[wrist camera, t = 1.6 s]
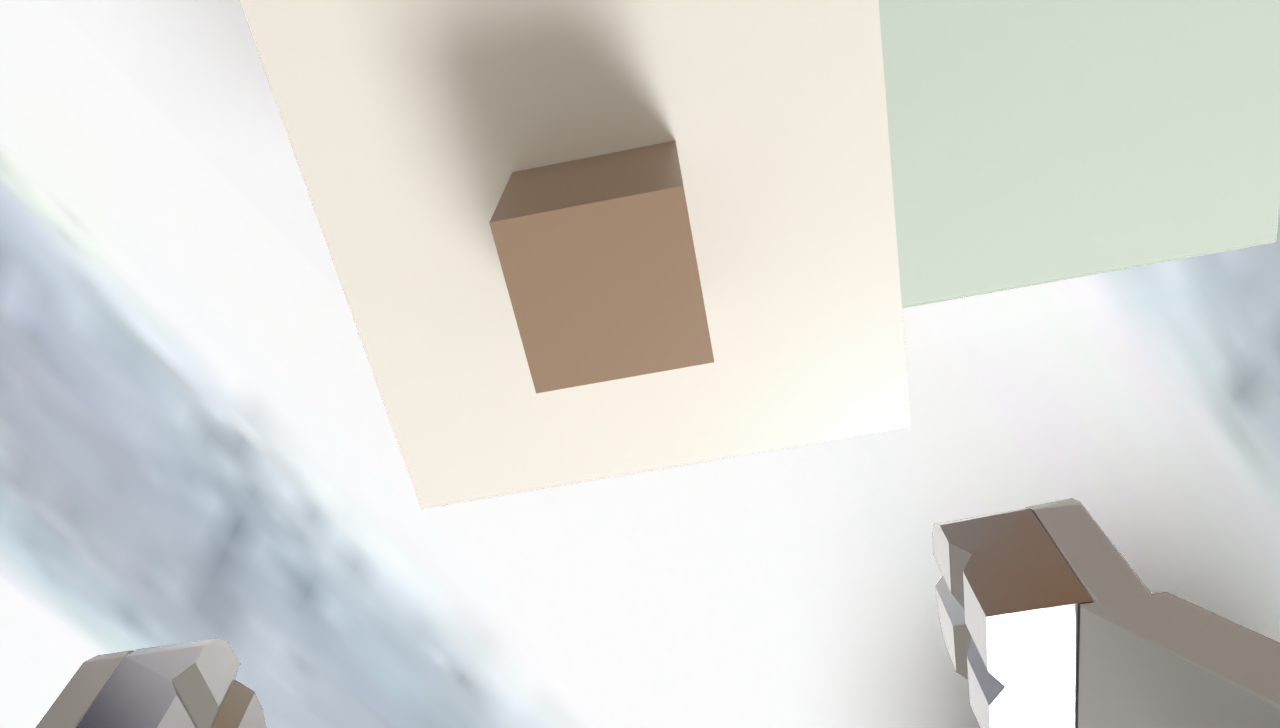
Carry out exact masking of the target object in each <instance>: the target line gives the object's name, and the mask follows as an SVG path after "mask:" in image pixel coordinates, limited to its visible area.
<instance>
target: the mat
mask: <svg viewBox="0 0 1280 728" xmlns="http://www.w3.org/2000/svg"><path fill="white" fill-rule="evenodd" d="M879 13H880V26H881V40H882V53H883V66H884V79H885V92H886V105H887V118H888V131H889V144H890V157H891V170H892V183H893V197H894V210H895V223H896V236H897V249H898V262H899V275H900V288H901V301H902V308H907V307H912V306H918V305H924V304H929V303H935V302H941V301H946V300H952V299H958V298H963V297H969V296H975V295H980V294H986V293H992V292H997V291H1003V290H1009V289H1014V288H1020V287H1026V286H1031V285H1037V284H1043V283H1048V282H1054V281H1060V280H1065V279H1071V278H1077V277H1082V276H1088V275H1094V274H1099V273H1105V272H1111V271H1116V270H1122V269H1128V268H1133V267H1139V266H1145V265H1150V264H1156V263H1162V262H1167V261H1173V260H1179V259H1184V258H1190V257H1196V256H1201V255H1207V254H1212V253H1218V252H1224V251H1229V250H1235V249H1241V248H1246V247H1252V246H1258V245H1263V244H1269V243H1275V242H1276V238H1277V229H1278V220H1279V211H1280V0H879Z"/></svg>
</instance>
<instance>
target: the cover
mask: <svg viewBox="0 0 1280 728" xmlns="http://www.w3.org/2000/svg"><path fill="white" fill-rule="evenodd" d="M240 3H241V6H242V9H243V11H244V14H245V17H246V20H247V23H248V25H249V28H250V31H251V34H252V37H253V39H254V42H255V45H256V48H257V50H258V53H259V56H260V59H261V62H262V64H263V67H264V70H265V73H266V76H267V78H268V81H269V84H270V87H271V90H272V92H273V95H274V98H275V101H276V104H277V106H278V109H279V112H280V115H281V118H282V120H283V123H284V126H285V129H286V132H287V134H288V137H289V140H290V143H291V146H292V148H293V151H294V154H295V157H296V160H297V162H298V165H299V168H300V171H301V173H302V176H303V179H304V182H305V185H306V187H307V190H308V193H309V196H310V199H311V201H312V204H313V207H314V210H315V213H316V215H317V218H318V221H319V224H320V227H321V229H322V232H323V235H324V238H325V241H326V243H327V246H328V249H329V252H330V255H331V257H332V260H333V263H334V266H335V269H336V271H337V274H338V277H339V280H340V283H341V285H342V288H343V291H344V294H345V297H346V299H347V302H348V305H349V308H350V310H351V313H352V316H353V319H354V322H355V324H356V327H357V330H358V333H359V336H360V338H361V341H362V344H363V347H364V350H365V352H366V355H367V358H368V361H369V364H370V366H371V369H372V372H373V375H374V378H375V380H376V383H377V386H378V389H379V392H380V394H381V397H382V400H383V403H384V406H385V408H386V411H387V414H388V417H389V420H390V422H391V425H392V428H393V431H394V433H395V436H396V439H397V442H398V445H399V447H400V450H401V453H402V456H403V459H404V461H405V464H406V467H407V470H408V473H409V475H410V478H411V481H412V484H413V487H414V489H415V492H416V495H417V498H418V501H419V503H420V506H421V509H424V508H430V507H436V506H442V505H448V504H454V503H460V502H466V501H472V500H478V499H484V498H490V497H496V496H502V495H508V494H514V493H520V492H526V491H532V490H538V489H544V488H550V487H556V486H562V485H568V484H574V483H580V482H586V481H592V480H598V479H604V478H610V477H616V476H622V475H628V474H634V473H640V472H646V471H652V470H658V469H664V468H670V467H676V466H682V465H688V464H694V463H700V462H706V461H712V460H718V459H724V458H730V457H736V456H742V455H748V454H754V453H760V452H766V451H772V450H778V449H784V448H790V447H796V446H802V445H808V444H814V443H820V442H826V441H832V440H838V439H844V438H850V437H856V436H862V435H868V434H874V433H880V432H886V431H892V430H898V429H904V428H910V427H911V419H910V406H909V393H908V380H907V367H906V354H905V341H904V327H903V314H902V301H901V288H900V275H899V262H898V249H897V236H896V223H895V210H894V197H893V183H892V170H891V157H890V144H889V131H888V118H887V105H886V92H885V79H884V66H883V53H882V40H881V26H880V13H879V0H240Z"/></svg>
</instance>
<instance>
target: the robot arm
mask: <svg viewBox="0 0 1280 728" xmlns="http://www.w3.org/2000/svg"><path fill="white" fill-rule="evenodd" d="M932 540H933V555H934V557H935V559H936V561H937V563H938V566H939V568H940V570H941V572H942V574H943V576H942V578H941V579H940V581H939V582H938V583H937V585H936V597H937V607H938V614H939V619H940V624H941V629H942V634H943V637H944V640H945V644H946V647H947V650H948V653H949V655H950V658H951V660H952V663H953V665H954V668H955V670H956V672H957V673H959V674H960V675H962V676H964V677H965V678H967V679H968V683H969V699H970V705H971V708H972V710H973V712H974V714H975V717H976V719H977V721H978V724H979V726H980V728H1280V643H1279V642H1276V641H1274V640H1272V639H1270V638H1267V637H1265V636H1263V635H1261V634H1258V633H1256V632H1254V631H1252V630H1250V629H1247V628H1245V627H1243V626H1241V625H1238V624H1236V623H1234V622H1232V621H1230V620H1227V619H1225V618H1223V617H1221V616H1218V615H1216V614H1214V613H1212V612H1210V611H1207V610H1205V609H1203V608H1201V607H1198V606H1196V605H1194V604H1192V603H1190V602H1187V601H1185V600H1183V599H1181V598H1178V597H1176V596H1174V595H1172V594H1169V593H1167V592H1162V593H1155V594H1151V593H1150V591H1149V590H1148V589H1147V588H1146V586H1145V585H1144V584H1143V582H1142V581H1141V580H1140V578H1139V577H1138V576H1137V575H1136V573H1135V572H1134V571H1133V569H1132V568H1131V567H1130V566H1129V564H1128V563H1127V562H1126V560H1125V559H1124V558H1123V556H1122V555H1121V554H1120V553H1119V551H1118V550H1117V549H1116V547H1115V546H1114V545H1113V544H1112V542H1111V541H1110V540H1109V538H1108V537H1107V536H1106V534H1105V533H1104V532H1103V531H1102V529H1101V528H1100V527H1099V525H1098V524H1097V523H1096V522H1095V520H1094V519H1093V518H1092V516H1091V515H1090V514H1089V512H1088V511H1087V510H1086V509H1085V507H1084V506H1083V505H1082V503H1081V502H1079V501H1077V500H1075V499H1073V498H1072V499H1066V500H1061V501H1056V502H1050V503H1045V504H1040V505H1034V506H1029V507H1026V509H1021V510H1014V511H1008V512H1002V513H996V514H990V515H984V516H978V517H972V518H966V519H960V520H954V521H948V522H942V523H936V524H934V525H933V533H932ZM240 664H241V663H240V662H239V660H238V658H237V656H236V655H235V653H234V651H233V649H232V648H231V646H230V644H229V642H226V641H223V640H219V639H209V640H201V641H194V642H187V643H179V644H172V645H165V646H157V647H150V648H143V649H137V650H135V651H124V652H118V653H111V654H104V655H98V656H96V657H94V658H92V659H90V660H88V661H86V662H84V663H83V664H82V665H81V667H80V668H79V669H78V671H77V672H76V674H75V675H74V676H73V678H72V679H71V680H70V682H69V683H68V684H67V686H66V687H65V689H64V690H63V691H62V693H61V694H60V695H59V697H58V698H57V699H56V701H55V702H54V704H53V705H52V706H51V708H50V709H49V710H48V712H47V713H46V714H45V716H44V717H43V719H42V720H41V721H40V723H39V724H38V725H37V727H36V728H267V727H266V723H265V718H264V713H263V708H262V706H261V704H260V702H259V700H258V698H257V696H256V693H255V692H254V691H252V690H251V689H249V688H247V687H246V686H244V685H243V684H241V683H240V682H238V681H236V680H235V678H236V675H237V672H238V670H239V667H240Z"/></svg>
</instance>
